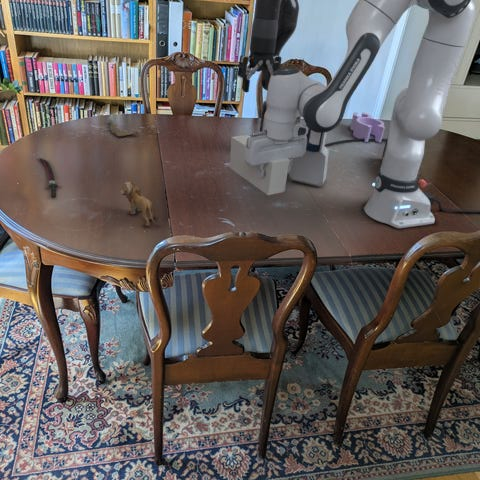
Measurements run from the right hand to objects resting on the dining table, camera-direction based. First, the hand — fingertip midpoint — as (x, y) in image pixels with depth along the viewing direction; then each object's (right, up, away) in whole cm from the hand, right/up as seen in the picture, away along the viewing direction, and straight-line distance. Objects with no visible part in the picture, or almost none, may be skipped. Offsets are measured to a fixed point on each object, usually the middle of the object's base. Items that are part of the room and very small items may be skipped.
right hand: (272, 174), depth 137 cm
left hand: (-4, +27, +8) cm, 28 cm away
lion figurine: (-39, -13, -1) cm, 41 cm away
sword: (-72, +1, +14) cm, 73 cm away
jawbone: (-58, +26, +56) cm, 85 cm away
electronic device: (+14, +2, +30) cm, 33 cm away
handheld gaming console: (+49, +7, +45) cm, 67 cm away
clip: (+48, +29, +79) cm, 97 cm away
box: (-5, 0, +8) cm, 9 cm away
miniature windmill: (+14, +33, +79) cm, 87 cm away
